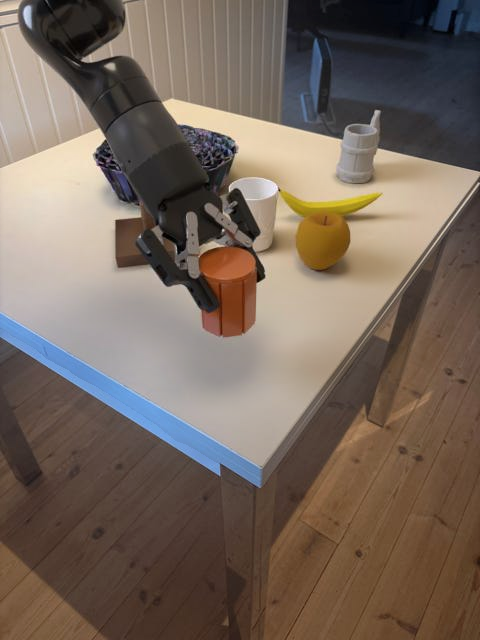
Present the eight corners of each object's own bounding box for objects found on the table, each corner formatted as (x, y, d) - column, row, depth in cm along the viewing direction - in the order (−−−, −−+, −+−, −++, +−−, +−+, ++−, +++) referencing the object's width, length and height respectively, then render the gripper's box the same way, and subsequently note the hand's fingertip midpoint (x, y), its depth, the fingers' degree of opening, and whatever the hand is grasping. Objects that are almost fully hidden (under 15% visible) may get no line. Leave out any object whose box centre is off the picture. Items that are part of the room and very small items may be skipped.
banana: (379, 221, 89) (386, 189, 85) (275, 223, 89) (277, 191, 84) (375, 213, 91) (382, 181, 87) (274, 215, 91) (275, 184, 86)
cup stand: (117, 267, 79) (108, 223, 73) (117, 229, 87) (108, 188, 82) (191, 258, 80) (187, 215, 75) (183, 222, 89) (179, 181, 84)
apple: (334, 287, 74) (342, 237, 68) (284, 271, 77) (287, 222, 72) (353, 259, 80) (361, 210, 74) (305, 245, 83) (310, 198, 77)
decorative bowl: (144, 161, 114) (135, 118, 107) (256, 169, 105) (254, 121, 99) (83, 213, 95) (67, 164, 89) (212, 227, 87) (205, 174, 81)
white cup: (280, 233, 86) (282, 180, 79) (270, 257, 80) (272, 202, 74) (237, 227, 88) (236, 174, 81) (224, 250, 82) (222, 196, 75)
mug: (328, 177, 103) (335, 119, 95) (357, 159, 109) (366, 103, 101) (360, 187, 99) (370, 128, 91) (388, 168, 106) (399, 111, 98)
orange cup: (205, 340, 54) (201, 282, 49) (197, 305, 59) (193, 249, 53) (259, 333, 55) (261, 275, 50) (248, 299, 60) (248, 243, 54)
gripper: (110, 163, 44) (205, 319, 46) (222, 123, 52) (300, 257, 54) (89, 198, 51) (173, 334, 52) (192, 157, 59) (262, 277, 60)
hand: (237, 295), depth 53 cm, fingers closed on orange cup, 6 cm apart
